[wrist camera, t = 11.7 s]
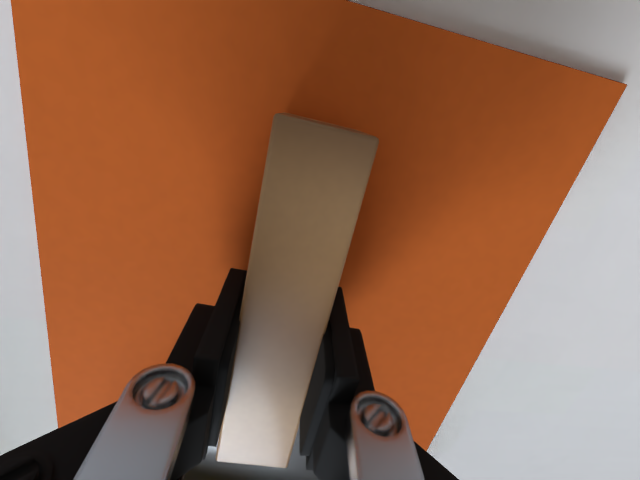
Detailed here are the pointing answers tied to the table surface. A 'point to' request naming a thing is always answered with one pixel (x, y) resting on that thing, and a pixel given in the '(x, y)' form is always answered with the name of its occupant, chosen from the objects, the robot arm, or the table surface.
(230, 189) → the towel
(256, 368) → the spatula
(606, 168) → the table surface
